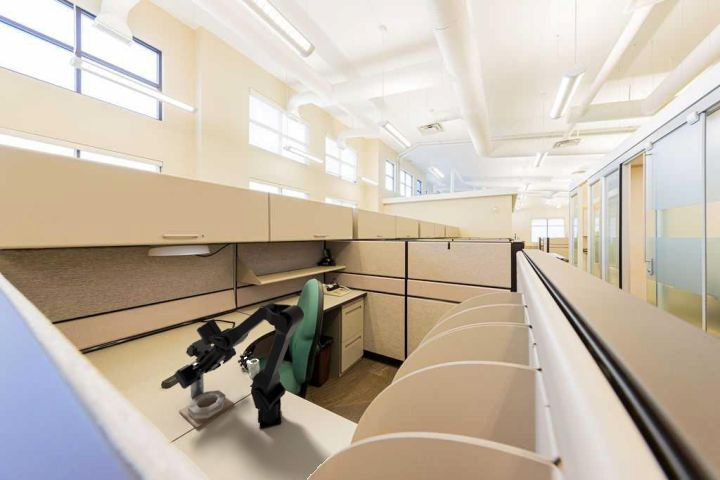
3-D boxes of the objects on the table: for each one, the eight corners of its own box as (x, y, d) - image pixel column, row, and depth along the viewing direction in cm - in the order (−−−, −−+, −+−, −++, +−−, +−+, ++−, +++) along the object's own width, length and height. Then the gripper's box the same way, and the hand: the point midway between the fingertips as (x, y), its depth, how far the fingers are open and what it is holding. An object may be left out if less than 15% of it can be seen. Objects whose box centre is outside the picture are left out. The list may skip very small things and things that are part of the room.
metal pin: (204, 390, 95) (204, 359, 94) (202, 397, 92) (201, 365, 91) (192, 392, 94) (191, 361, 93) (189, 399, 90) (188, 367, 89)
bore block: (234, 405, 88) (234, 397, 88) (197, 429, 78) (197, 420, 78) (216, 392, 94) (215, 384, 94) (179, 412, 84) (179, 404, 84)
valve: (264, 375, 105) (253, 363, 114) (264, 360, 105) (253, 348, 113) (247, 382, 101) (237, 368, 109) (247, 366, 100) (237, 354, 109)
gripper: (225, 324, 98) (205, 346, 103) (177, 347, 81) (155, 372, 85) (242, 348, 97) (220, 369, 101) (196, 376, 79) (172, 401, 83)
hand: (194, 376), depth 93 cm, fingers closed on metal pin, 4 cm apart
